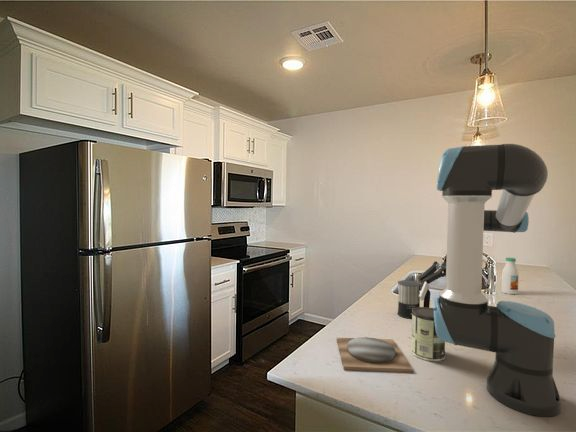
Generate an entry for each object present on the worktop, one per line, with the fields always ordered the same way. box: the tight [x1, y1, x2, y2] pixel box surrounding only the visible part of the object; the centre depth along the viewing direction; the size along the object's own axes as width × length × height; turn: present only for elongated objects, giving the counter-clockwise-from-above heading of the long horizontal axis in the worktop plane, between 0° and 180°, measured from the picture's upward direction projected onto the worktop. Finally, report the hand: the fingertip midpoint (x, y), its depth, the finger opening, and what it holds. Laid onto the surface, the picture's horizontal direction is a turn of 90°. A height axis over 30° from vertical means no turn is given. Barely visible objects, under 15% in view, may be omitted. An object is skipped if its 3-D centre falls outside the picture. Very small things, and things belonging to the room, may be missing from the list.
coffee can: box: [410, 306, 446, 363], centre depth 102 cm, size 10×10×14 cm
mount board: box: [336, 336, 414, 373], centre depth 101 cm, size 20×20×2 cm
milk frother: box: [397, 279, 431, 320], centre depth 142 cm, size 14×16×15 cm
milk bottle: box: [500, 257, 519, 295], centre depth 176 cm, size 8×8×20 cm
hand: (440, 303), depth 108 cm, fingers open, 13 cm apart
